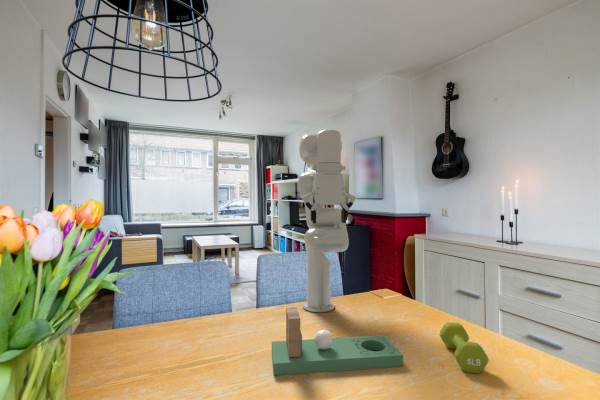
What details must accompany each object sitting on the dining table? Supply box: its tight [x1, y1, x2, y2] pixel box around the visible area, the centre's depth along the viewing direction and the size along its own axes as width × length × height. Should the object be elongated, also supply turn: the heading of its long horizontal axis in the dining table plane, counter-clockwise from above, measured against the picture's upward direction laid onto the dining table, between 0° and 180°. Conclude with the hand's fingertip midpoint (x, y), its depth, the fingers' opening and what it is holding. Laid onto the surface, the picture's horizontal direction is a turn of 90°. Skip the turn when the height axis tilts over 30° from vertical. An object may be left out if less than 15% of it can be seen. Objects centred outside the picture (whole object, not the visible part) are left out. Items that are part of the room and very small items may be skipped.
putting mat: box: [271, 334, 404, 376], centre depth 88 cm, size 12×34×3 cm, turn 97°
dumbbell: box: [439, 322, 489, 374], centre depth 88 cm, size 16×8×7 cm, turn 172°
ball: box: [314, 329, 334, 350], centre depth 87 cm, size 5×5×5 cm
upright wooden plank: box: [285, 306, 303, 357], centre depth 86 cm, size 8×4×10 cm, turn 7°
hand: (329, 223), depth 102 cm, fingers open, 9 cm apart
